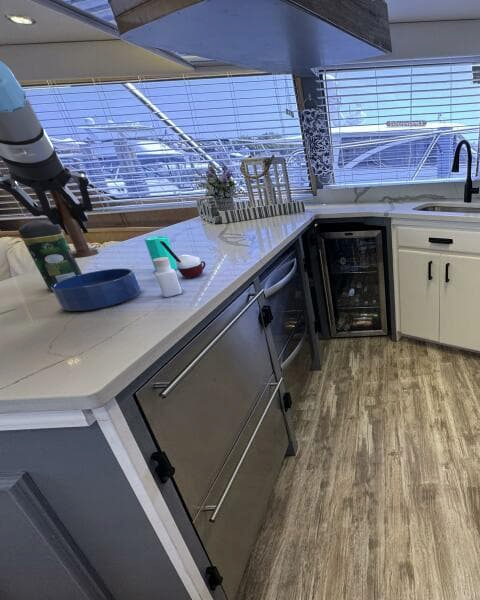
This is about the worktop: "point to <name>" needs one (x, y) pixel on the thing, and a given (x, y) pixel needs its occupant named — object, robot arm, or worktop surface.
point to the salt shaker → (166, 277)
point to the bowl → (96, 289)
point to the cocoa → (187, 264)
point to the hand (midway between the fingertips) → (76, 229)
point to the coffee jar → (49, 251)
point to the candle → (160, 249)
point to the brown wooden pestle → (72, 227)
